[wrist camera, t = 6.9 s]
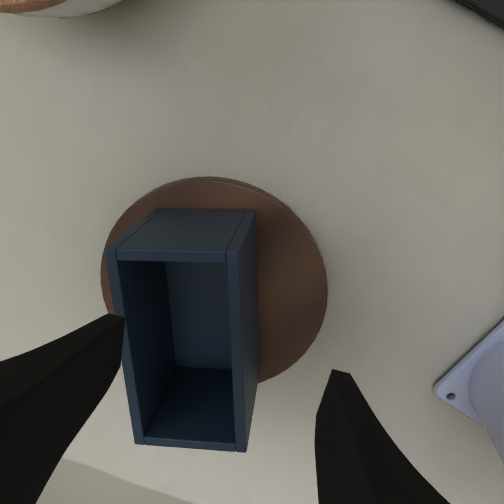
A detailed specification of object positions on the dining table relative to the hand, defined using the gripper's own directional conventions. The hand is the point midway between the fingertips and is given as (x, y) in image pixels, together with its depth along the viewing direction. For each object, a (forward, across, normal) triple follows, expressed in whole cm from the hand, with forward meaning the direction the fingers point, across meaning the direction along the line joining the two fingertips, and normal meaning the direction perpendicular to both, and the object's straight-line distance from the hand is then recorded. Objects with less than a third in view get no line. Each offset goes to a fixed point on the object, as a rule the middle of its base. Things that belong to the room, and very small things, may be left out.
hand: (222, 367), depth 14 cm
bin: (+9, +2, +3) cm, 10 cm away
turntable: (+10, +2, +2) cm, 10 cm away
